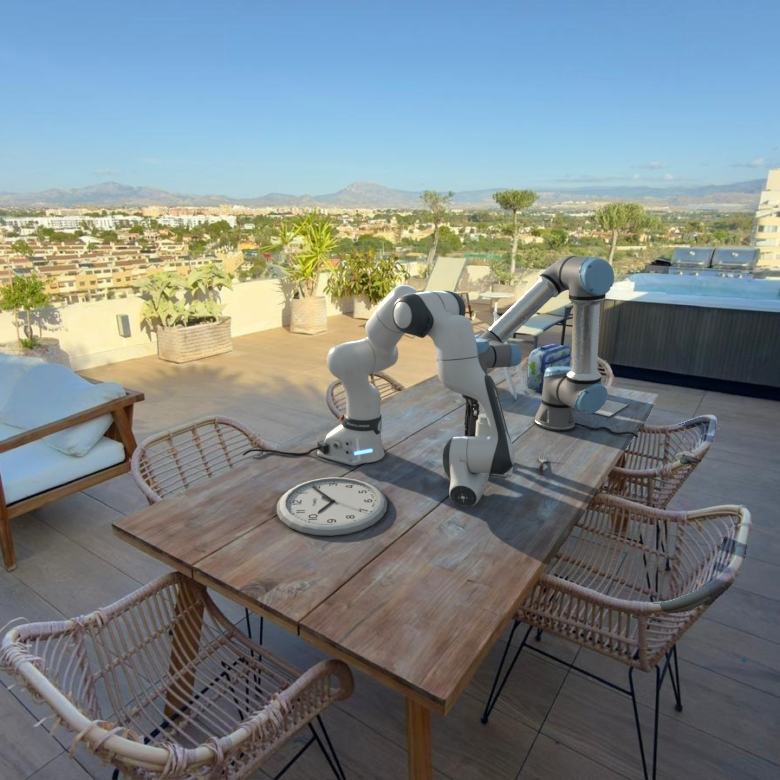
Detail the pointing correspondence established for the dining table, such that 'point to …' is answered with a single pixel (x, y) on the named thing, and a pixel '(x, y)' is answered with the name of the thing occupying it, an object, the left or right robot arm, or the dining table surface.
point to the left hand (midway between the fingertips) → (482, 453)
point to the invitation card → (610, 408)
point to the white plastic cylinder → (482, 426)
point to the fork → (542, 461)
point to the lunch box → (545, 363)
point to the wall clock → (331, 506)
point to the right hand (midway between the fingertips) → (468, 450)
